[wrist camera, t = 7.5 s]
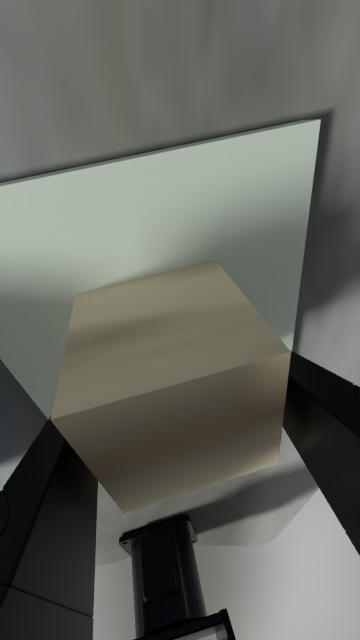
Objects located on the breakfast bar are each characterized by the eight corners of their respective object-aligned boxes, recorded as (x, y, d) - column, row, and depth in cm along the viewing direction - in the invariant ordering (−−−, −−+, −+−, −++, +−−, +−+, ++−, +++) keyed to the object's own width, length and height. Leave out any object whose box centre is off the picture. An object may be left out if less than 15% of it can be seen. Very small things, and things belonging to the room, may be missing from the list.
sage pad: (278, 373, 16) (287, 386, 15) (73, 431, 15) (71, 449, 14) (301, 120, 9) (320, 118, 8) (-94, 202, 8) (-117, 210, 7)
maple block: (224, 358, 13) (278, 464, 9) (118, 387, 12) (123, 512, 8) (215, 259, 10) (291, 351, 6) (75, 294, 9) (50, 419, 5)
